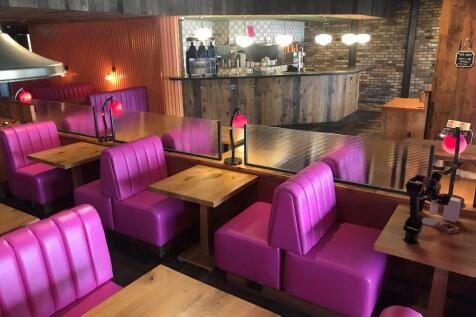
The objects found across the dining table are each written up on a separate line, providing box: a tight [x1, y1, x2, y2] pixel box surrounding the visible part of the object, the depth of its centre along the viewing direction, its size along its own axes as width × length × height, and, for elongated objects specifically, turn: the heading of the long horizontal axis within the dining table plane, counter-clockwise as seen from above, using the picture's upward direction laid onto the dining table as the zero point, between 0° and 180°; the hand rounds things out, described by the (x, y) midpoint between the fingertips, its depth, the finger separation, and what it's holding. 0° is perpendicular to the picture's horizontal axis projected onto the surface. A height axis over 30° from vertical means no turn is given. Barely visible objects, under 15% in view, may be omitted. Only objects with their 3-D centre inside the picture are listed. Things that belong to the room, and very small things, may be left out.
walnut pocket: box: [437, 222, 460, 234], centre depth 245 cm, size 8×8×2 cm
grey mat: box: [422, 216, 440, 228], centre depth 255 cm, size 11×9×1 cm
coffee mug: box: [419, 198, 427, 213], centre depth 271 cm, size 12×9×10 cm
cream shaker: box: [428, 200, 439, 216], centre depth 252 cm, size 4×4×11 cm
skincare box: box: [442, 196, 462, 224], centre depth 257 cm, size 8×6×15 cm
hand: (435, 202), depth 252 cm, fingers closed on cream shaker, 4 cm apart
